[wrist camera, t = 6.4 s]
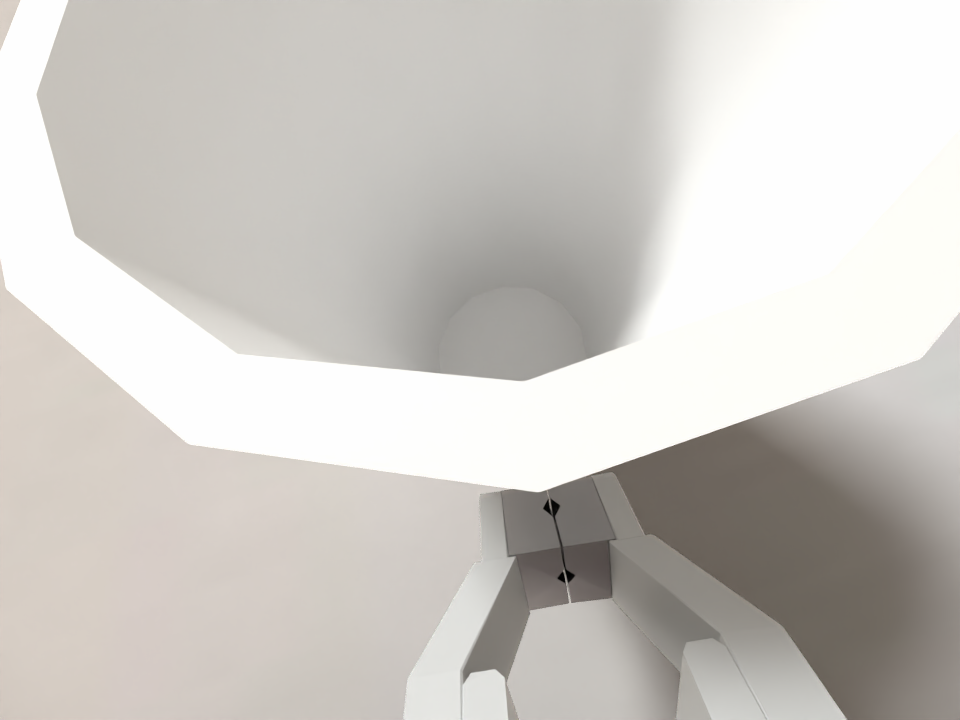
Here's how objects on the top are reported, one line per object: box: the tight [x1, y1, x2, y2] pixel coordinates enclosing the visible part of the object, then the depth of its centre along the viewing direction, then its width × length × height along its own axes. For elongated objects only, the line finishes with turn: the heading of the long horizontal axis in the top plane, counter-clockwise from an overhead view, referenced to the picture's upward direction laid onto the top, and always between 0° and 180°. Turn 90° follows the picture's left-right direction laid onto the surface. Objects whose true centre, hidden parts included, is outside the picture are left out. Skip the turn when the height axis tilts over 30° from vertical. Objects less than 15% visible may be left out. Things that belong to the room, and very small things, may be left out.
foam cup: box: [0, 0, 960, 492], centre depth 10 cm, size 10×9×13 cm
